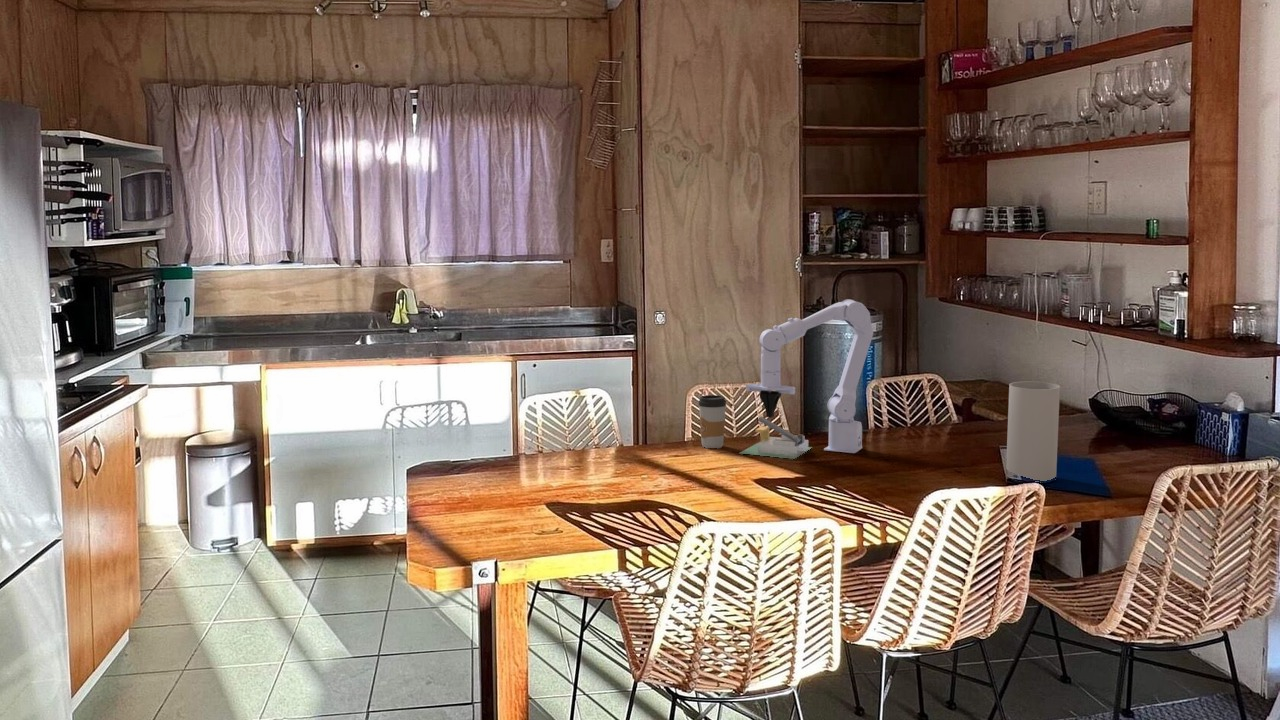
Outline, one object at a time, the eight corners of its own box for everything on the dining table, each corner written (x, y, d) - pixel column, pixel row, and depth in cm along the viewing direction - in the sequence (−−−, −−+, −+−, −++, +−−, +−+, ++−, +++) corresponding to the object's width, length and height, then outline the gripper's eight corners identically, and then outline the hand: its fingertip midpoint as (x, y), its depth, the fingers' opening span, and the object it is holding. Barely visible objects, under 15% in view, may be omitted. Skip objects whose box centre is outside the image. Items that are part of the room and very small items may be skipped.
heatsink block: (808, 450, 341) (808, 433, 340) (796, 457, 332) (797, 440, 331) (769, 446, 346) (769, 429, 345) (757, 453, 337) (757, 436, 337)
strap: (800, 442, 338) (802, 438, 337) (797, 444, 335) (798, 440, 335) (760, 419, 342) (762, 415, 342) (757, 421, 340) (758, 417, 339)
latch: (769, 444, 348) (769, 426, 347) (762, 448, 343) (762, 430, 343) (761, 444, 349) (761, 426, 348) (755, 447, 344) (755, 429, 344)
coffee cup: (693, 445, 350) (693, 396, 348) (717, 442, 354) (717, 394, 351) (706, 450, 343) (706, 400, 340) (731, 447, 346) (731, 398, 344)
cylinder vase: (1023, 486, 298) (1027, 390, 295) (996, 475, 310) (999, 382, 306) (1065, 482, 301) (1070, 387, 298) (1037, 471, 313) (1041, 380, 310)
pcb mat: (812, 448, 344) (812, 447, 344) (794, 459, 330) (794, 458, 330) (758, 443, 352) (758, 442, 352) (738, 454, 338) (739, 453, 338)
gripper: (742, 371, 337) (742, 417, 339) (789, 374, 331) (789, 421, 333) (751, 367, 343) (750, 413, 345) (797, 370, 337) (797, 416, 339)
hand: (770, 416), depth 339 cm, fingers closed
